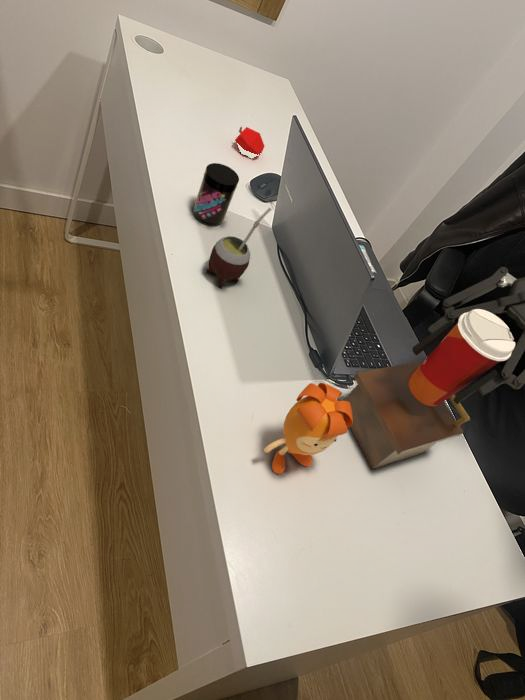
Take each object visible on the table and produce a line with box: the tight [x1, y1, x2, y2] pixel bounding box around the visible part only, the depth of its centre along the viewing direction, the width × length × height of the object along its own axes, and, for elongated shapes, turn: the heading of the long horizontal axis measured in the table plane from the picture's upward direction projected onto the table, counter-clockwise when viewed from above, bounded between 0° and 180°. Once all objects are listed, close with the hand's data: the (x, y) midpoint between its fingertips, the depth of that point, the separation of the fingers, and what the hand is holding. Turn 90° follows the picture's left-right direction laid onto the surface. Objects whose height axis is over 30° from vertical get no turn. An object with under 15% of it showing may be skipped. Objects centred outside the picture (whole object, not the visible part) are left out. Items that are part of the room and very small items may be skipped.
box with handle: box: [342, 357, 471, 470], centre depth 81 cm, size 14×14×12 cm
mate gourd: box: [205, 207, 272, 289], centre depth 89 cm, size 8×8×15 cm
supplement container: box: [192, 162, 240, 226], centre depth 100 cm, size 7×7×10 cm
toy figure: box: [263, 382, 353, 475], centre depth 70 cm, size 12×8×15 cm, turn 112°
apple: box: [234, 126, 266, 155], centre depth 123 cm, size 7×7×8 cm
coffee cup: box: [408, 309, 516, 406], centre depth 71 cm, size 8×8×15 cm
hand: (434, 375), depth 70 cm, fingers closed on coffee cup, 8 cm apart
